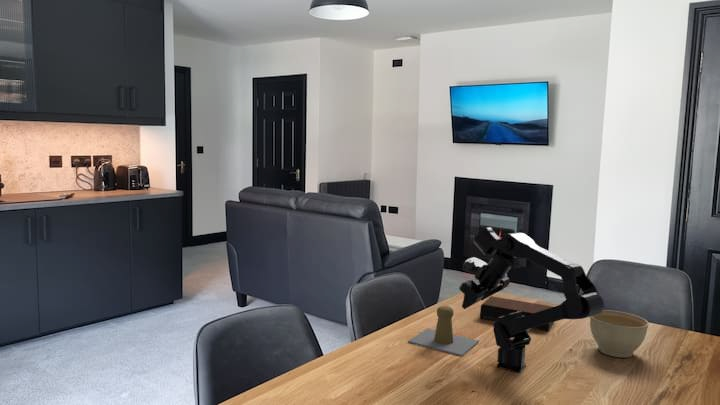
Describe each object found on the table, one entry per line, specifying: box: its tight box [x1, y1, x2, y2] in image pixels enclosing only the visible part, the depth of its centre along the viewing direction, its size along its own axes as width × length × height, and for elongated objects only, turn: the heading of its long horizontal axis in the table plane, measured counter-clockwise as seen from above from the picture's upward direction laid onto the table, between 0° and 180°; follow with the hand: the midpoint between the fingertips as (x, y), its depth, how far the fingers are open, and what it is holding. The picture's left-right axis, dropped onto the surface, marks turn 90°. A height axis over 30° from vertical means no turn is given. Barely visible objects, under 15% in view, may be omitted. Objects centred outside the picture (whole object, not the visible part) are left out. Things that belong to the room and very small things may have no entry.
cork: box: [434, 305, 455, 345], centre depth 164 cm, size 6×6×11 cm
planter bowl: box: [589, 309, 649, 358], centre depth 161 cm, size 16×16×11 cm
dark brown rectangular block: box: [479, 295, 554, 333], centre depth 188 cm, size 24×12×6 cm, turn 61°
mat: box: [407, 328, 480, 357], centre depth 165 cm, size 18×14×1 cm
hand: (472, 303), depth 160 cm, fingers open, 9 cm apart
